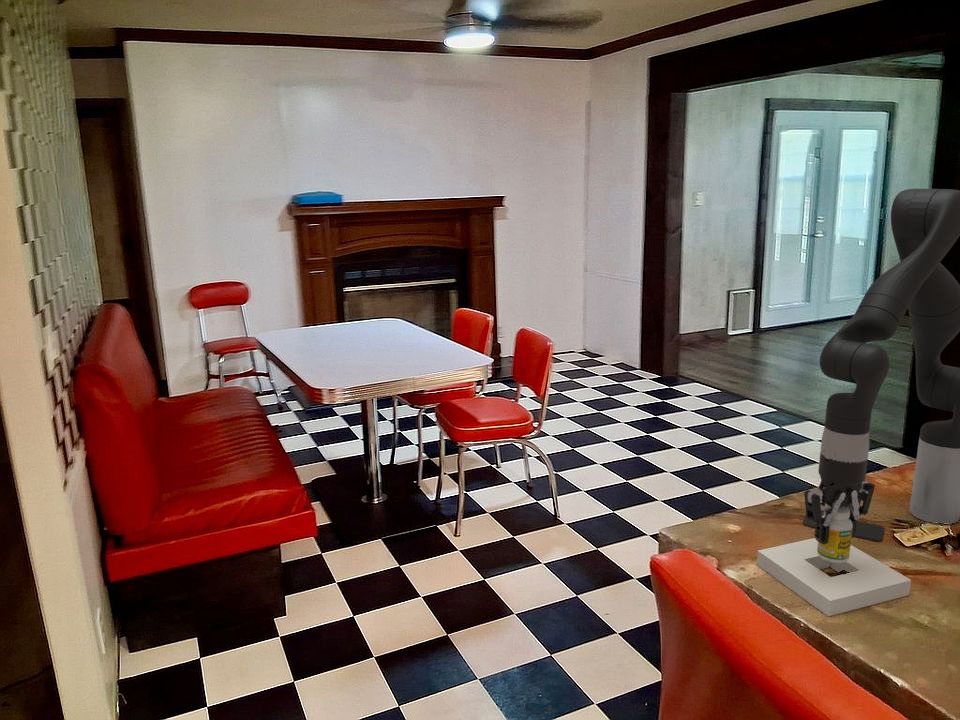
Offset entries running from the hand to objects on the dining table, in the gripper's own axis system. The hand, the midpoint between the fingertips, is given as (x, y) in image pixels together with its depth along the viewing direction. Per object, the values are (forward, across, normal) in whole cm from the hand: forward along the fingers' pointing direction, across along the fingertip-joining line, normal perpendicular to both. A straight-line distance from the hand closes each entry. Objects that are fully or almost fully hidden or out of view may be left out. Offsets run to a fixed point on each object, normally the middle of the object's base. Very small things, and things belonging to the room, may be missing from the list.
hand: (834, 538), depth 131 cm
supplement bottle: (+4, 0, 0) cm, 4 cm away
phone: (+9, -18, -15) cm, 25 cm away
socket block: (+8, 0, 0) cm, 8 cm away
